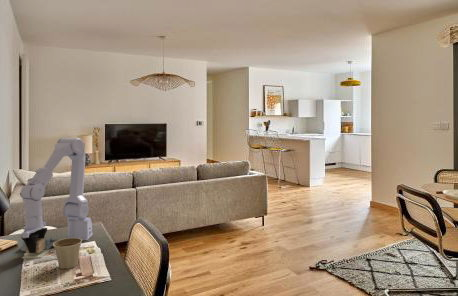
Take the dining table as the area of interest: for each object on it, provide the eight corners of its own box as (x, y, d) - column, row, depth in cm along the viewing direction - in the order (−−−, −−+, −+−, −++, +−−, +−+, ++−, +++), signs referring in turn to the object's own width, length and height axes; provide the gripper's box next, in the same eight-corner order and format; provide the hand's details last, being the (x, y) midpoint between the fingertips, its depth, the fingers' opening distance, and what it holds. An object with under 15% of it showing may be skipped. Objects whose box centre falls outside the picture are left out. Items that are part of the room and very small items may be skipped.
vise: (61, 243, 147) (61, 227, 147) (54, 249, 140) (53, 232, 140) (30, 244, 146) (29, 228, 146) (21, 251, 140) (19, 233, 139)
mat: (49, 250, 139) (49, 249, 139) (41, 257, 132) (41, 256, 132) (31, 251, 139) (31, 250, 139) (22, 258, 132) (22, 257, 132)
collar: (45, 248, 138) (44, 238, 138) (39, 252, 133) (38, 242, 133) (32, 248, 138) (31, 238, 137) (25, 253, 133) (25, 243, 132)
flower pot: (89, 262, 127) (87, 238, 127) (69, 272, 119) (68, 248, 118) (68, 259, 130) (67, 236, 130) (47, 269, 122) (46, 245, 121)
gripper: (32, 210, 141) (34, 243, 142) (12, 221, 127) (14, 257, 128) (50, 210, 142) (52, 243, 143) (32, 220, 127) (34, 257, 128)
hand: (36, 250), depth 135 cm, fingers closed on collar, 5 cm apart
